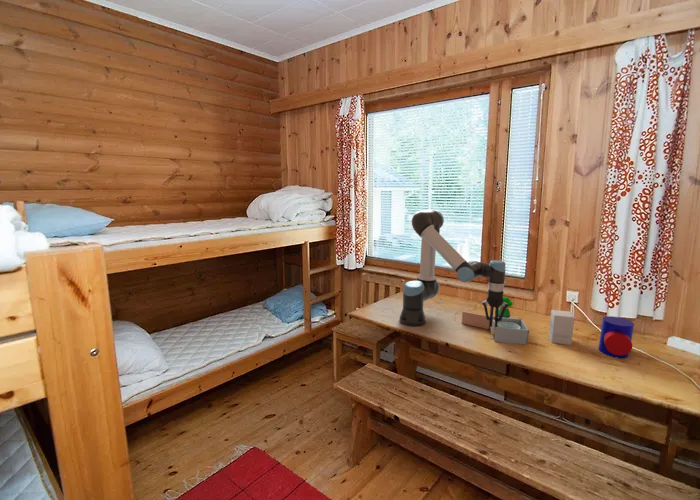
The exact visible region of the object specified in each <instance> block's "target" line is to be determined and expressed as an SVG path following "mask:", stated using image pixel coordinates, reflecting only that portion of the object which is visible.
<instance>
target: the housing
mask: <svg viewBox="0 0 700 500" xmlns="http://www.w3.org/2000/svg"><path fill="white" fill-rule="evenodd" d="M493 320H495V316H493ZM499 322H512V323H515V324H517V325H519V326H520V327H521V329H512V328H501V327H495V332H494V340H493V341H494V342H500V343H509V344H520V345H528V343H529V336H530V335H529V334H530V330H529V328H528V327H527V325H526V323H525V321H524V320H523V319H522V318H514V317H509V318H504V317H502V320H501V321H498V322H497V323H499ZM489 330H490V331H491V327H490V329H489Z"/></svg>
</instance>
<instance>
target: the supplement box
mask: <svg viewBox="0 0 700 500" xmlns="http://www.w3.org/2000/svg"><path fill="white" fill-rule="evenodd" d="M550 311H551V312H550V320H549V329H548V330H549V331H548V338H549V341H550V342H551V343H552V344H559V345H569V346H572V341H573V333H574V324H575V316H574V315H573V314H572V312H571V311H566V310H556V309H551V310H550Z"/></svg>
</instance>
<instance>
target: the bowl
mask: <svg viewBox="0 0 700 500" xmlns="http://www.w3.org/2000/svg"><path fill="white" fill-rule="evenodd" d="M497 327H501V328H512V329H521V327H520V326H519V325H517V324H515V323H512V322H499V323H497Z"/></svg>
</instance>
